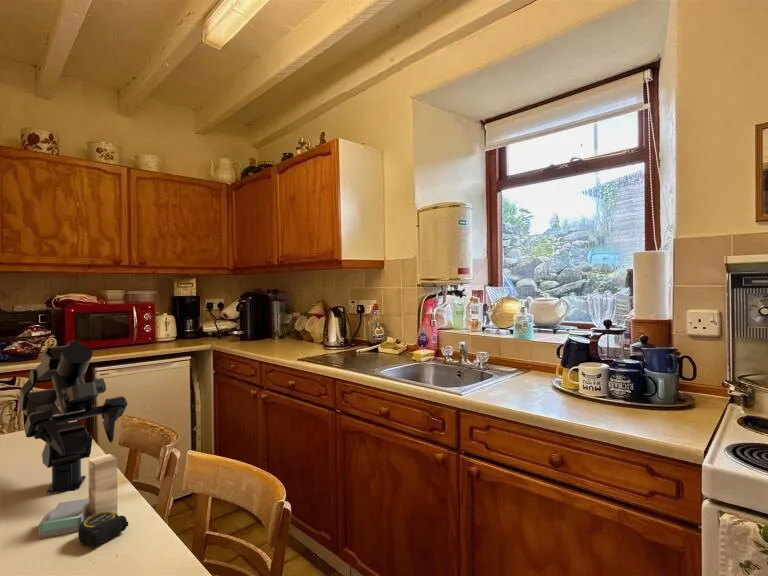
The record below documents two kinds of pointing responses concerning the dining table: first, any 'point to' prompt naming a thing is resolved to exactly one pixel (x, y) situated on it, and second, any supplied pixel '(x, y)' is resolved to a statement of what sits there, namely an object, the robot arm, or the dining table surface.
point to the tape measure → (101, 528)
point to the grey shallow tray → (64, 518)
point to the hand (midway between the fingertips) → (88, 447)
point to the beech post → (102, 484)
